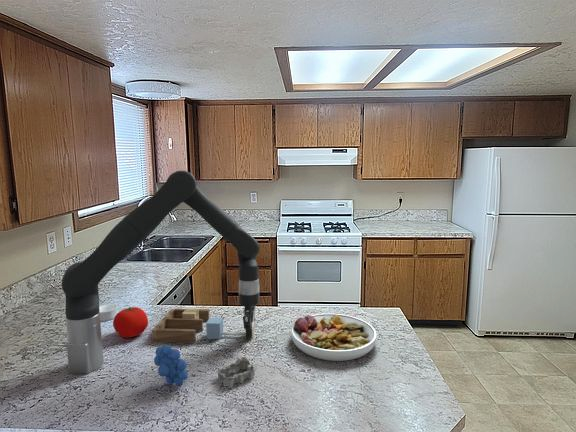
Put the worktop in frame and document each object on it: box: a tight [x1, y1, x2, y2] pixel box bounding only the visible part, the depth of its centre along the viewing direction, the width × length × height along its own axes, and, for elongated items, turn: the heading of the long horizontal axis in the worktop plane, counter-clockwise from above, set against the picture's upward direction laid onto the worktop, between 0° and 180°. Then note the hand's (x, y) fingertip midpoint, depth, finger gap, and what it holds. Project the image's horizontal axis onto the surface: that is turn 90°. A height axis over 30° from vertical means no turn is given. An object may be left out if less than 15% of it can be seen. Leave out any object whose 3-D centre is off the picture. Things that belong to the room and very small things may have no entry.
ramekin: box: [99, 303, 119, 322], centre depth 157 cm, size 9×9×4 cm
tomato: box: [112, 306, 149, 339], centre depth 141 cm, size 11×12×10 cm
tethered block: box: [205, 317, 255, 340], centre depth 140 cm, size 5×17×6 cm, turn 87°
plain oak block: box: [182, 308, 200, 319], centre depth 150 cm, size 5×5×6 cm
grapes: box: [153, 343, 189, 387], centre depth 109 cm, size 12×7×12 cm, turn 67°
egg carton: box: [216, 356, 257, 388], centre depth 114 cm, size 11×8×4 cm
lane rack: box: [151, 308, 210, 344], centre depth 145 cm, size 20×16×4 cm
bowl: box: [290, 313, 377, 362], centre depth 135 cm, size 30×30×8 cm
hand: (249, 335), depth 140 cm, fingers closed on tethered block, 3 cm apart
